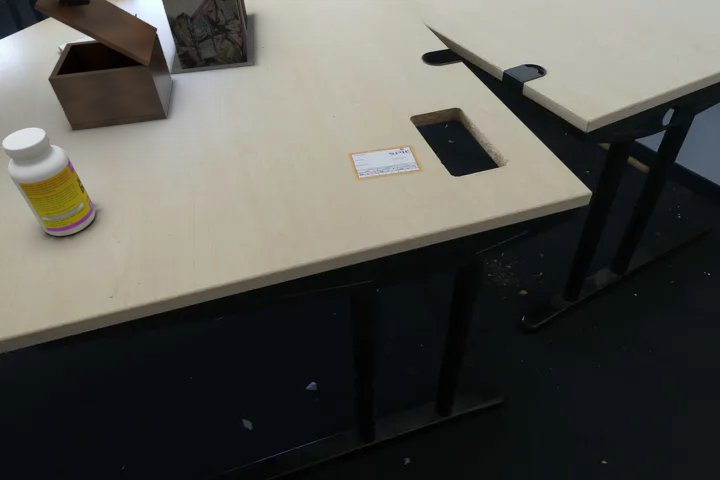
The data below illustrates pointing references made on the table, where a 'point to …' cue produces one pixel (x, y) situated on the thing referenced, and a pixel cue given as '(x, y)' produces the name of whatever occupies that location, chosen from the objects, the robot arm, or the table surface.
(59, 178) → the supplement bottle
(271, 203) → the table surface
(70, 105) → the chest
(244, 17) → the bookend
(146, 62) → the lid
